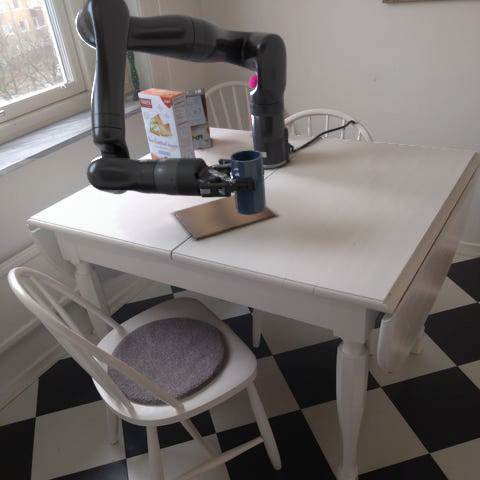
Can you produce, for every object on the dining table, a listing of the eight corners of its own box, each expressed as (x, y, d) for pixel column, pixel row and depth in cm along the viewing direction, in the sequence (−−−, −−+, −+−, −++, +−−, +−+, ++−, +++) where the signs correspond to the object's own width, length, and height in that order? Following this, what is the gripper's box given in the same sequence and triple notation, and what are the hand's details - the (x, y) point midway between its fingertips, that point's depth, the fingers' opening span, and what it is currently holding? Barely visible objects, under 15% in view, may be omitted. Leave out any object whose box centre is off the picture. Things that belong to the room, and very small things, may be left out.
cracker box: (151, 164, 151) (136, 92, 138) (166, 158, 155) (152, 86, 142) (183, 173, 143) (170, 96, 131) (197, 165, 147) (186, 91, 134)
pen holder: (257, 198, 105) (253, 147, 98) (271, 209, 100) (267, 156, 94) (231, 206, 103) (225, 154, 96) (243, 217, 99) (238, 164, 92)
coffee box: (211, 147, 159) (205, 94, 149) (192, 149, 159) (184, 96, 149) (210, 138, 166) (204, 87, 156) (191, 140, 166) (184, 89, 156)
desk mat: (246, 193, 128) (245, 191, 128) (274, 216, 116) (274, 214, 116) (173, 213, 122) (173, 212, 122) (196, 240, 111) (195, 238, 110)
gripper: (164, 173, 94) (249, 174, 89) (190, 146, 105) (266, 146, 100) (172, 209, 98) (252, 212, 94) (195, 180, 109) (269, 181, 105)
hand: (259, 178), depth 97 cm, fingers closed on pen holder, 6 cm apart
